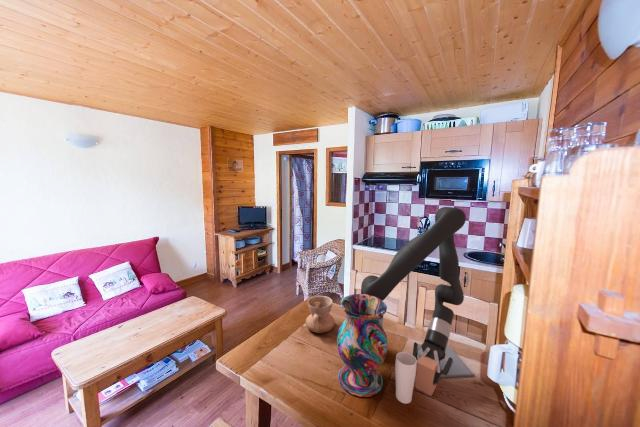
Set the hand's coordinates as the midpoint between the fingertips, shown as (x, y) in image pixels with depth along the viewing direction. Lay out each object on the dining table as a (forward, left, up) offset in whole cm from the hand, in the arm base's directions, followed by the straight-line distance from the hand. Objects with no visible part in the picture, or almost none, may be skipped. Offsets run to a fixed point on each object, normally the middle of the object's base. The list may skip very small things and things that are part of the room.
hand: (425, 379), depth 90 cm
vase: (-22, +6, -5) cm, 23 cm away
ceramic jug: (-35, +39, -5) cm, 53 cm away
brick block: (+1, +1, -4) cm, 5 cm away
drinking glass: (-9, -3, -5) cm, 10 cm away
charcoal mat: (+14, +13, -4) cm, 20 cm away
